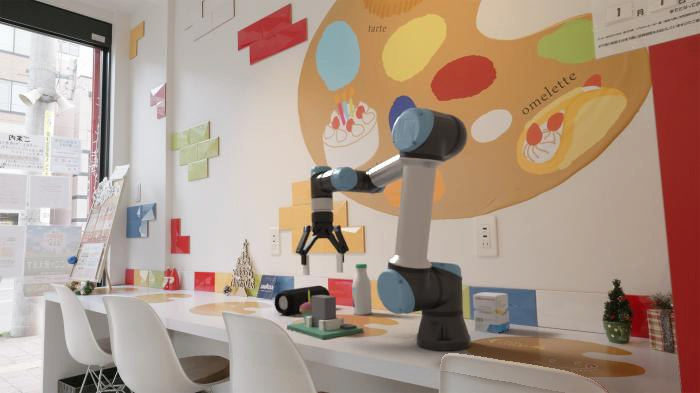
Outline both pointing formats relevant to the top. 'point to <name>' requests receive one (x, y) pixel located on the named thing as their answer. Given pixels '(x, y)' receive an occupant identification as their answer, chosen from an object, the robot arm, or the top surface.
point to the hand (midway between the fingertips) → (323, 273)
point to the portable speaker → (296, 298)
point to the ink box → (491, 311)
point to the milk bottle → (361, 291)
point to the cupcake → (306, 307)
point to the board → (325, 328)
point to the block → (323, 308)
